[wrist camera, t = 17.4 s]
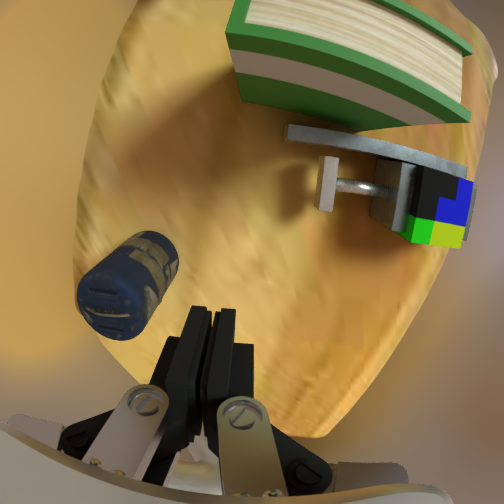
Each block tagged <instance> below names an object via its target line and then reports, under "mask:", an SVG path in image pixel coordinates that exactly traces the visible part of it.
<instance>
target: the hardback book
mask: <svg viewBox="0 0 504 504" xmlns="http://www.w3.org/2000/svg"><path fill="white" fill-rule="evenodd" d="M225 34H226V38H227V42H228V46H229V50H230V54H231V58H232V62H233V66H234V70H235V74H236V78H237V82H238V86H239V90H240V94H241V99H242V101H244V102H250V103H255V104H260V105H265V106H270V107H274V108H279V109H283V110H287V111H292V112H296V113H300V114H303V115H307V116H311V117H314V118H318V119H321V120H325V121H328V122H332V123H335V124H338V125H341V126H344V127H347V128H350V129H353V130H356V131H359V132H361V131H368V130H375V129H383V128H392V127H402V126H412V125H425V124H442V123H470V116H471V112H470V111H469V110H468V109H466V108H465V107H463V106H462V105H460V102H461V87H462V57H465V56H468V55H472V45H470V44H469V43H468V42H466V41H465V40H464V39H462V38H461V37H460V36H458V35H457V34H455V33H454V32H453V31H451V30H450V29H448V28H447V27H445V26H444V25H442V24H441V23H439V22H438V21H436V20H434V19H433V18H431V17H429V16H428V15H426V14H424V13H423V12H421V11H419V10H417V9H416V8H414V7H412V6H410V5H408V4H406V3H404V2H402V1H400V0H235V2H234V5H233V8H232V12H231V15H230V18H229V21H228V24H227V28H226V31H225Z"/></svg>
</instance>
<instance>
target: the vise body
mask: <svg viewBox="0 0 504 504" xmlns="http://www.w3.org/2000/svg"><path fill="white" fill-rule="evenodd" d="M283 141H288V142H296V143H304V144H312V145H319V146H325V147H332V148H338V149H344V150H349V151H355V152H360V153H365V154H370V155H374V156H379V157H384V158H388V159H392V160H396V161H401V162H405V163H408V164H413V165H419V166H425V167H428V168H432V169H435V170H438V171H441V172H445V173H448V174H451V175H454V176H457V177H460V178H463V179H466V176H467V168H468V167H465V166H463V165H460V164H457V163H455V162H452V161H449V160H446V159H443V158H440V157H437V156H434V155H431V154H428V153H425V152H422V151H418V150H415V149H412V148H408V147H405V146H401V145H397V144H393V143H390V142H386V141H381V140H377V139H373V138H369V137H364V136H359V135H354V134H349V133H344V132H339V131H333V130H327V129H321V128H315V127H308V126H301V125H293V124H288V125H287V126H286V127H284V139H283ZM476 190H477V185H475V184H473V189H472V196H471V201H470V207H469V212H468V217H467V222H466V227H465V231H464V235H463V239H462V240H464V241H466V240H467V236H468V232H469V228H470V223H471V218H472V213H473V208H474V203H475V197H476Z"/></svg>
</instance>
